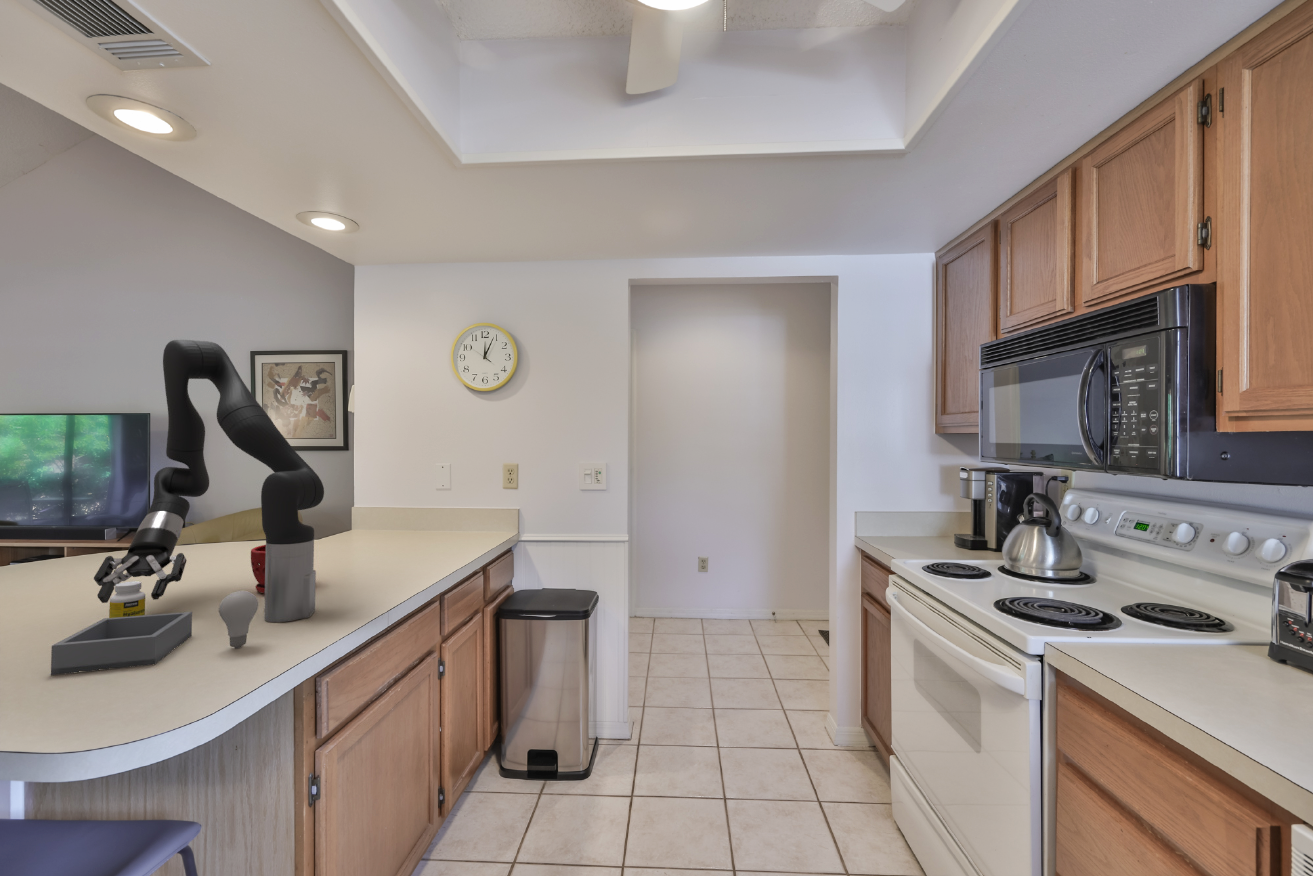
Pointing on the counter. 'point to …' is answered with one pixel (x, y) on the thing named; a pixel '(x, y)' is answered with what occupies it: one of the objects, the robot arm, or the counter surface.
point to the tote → (121, 642)
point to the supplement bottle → (127, 600)
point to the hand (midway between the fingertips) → (129, 599)
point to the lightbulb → (238, 615)
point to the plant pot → (259, 566)
